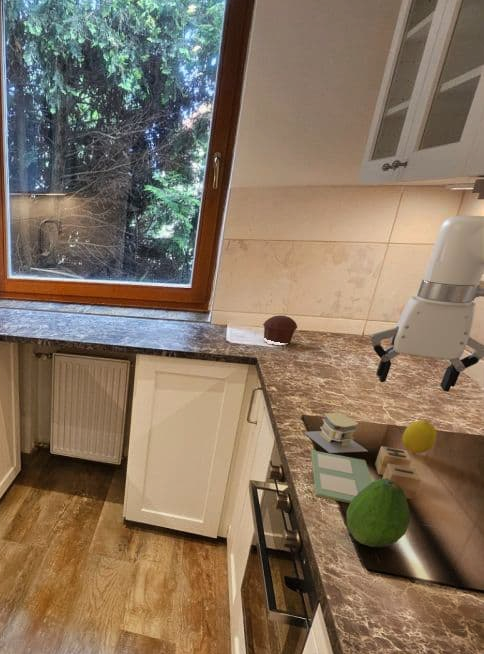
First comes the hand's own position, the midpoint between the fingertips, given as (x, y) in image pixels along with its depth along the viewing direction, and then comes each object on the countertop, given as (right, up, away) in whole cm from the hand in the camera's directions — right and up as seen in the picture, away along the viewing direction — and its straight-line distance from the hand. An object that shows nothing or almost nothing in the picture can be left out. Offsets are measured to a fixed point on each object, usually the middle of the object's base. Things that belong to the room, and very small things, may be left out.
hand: (412, 384), depth 89 cm
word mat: (-10, -18, +5) cm, 22 cm away
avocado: (-17, -27, -12) cm, 34 cm away
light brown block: (+1, -17, +7) cm, 19 cm away
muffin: (+21, +20, +90) cm, 94 cm away
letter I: (-2, -20, +1) cm, 20 cm away
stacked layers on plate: (-2, -12, +19) cm, 23 cm away
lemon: (+12, -15, +14) cm, 23 cm away
